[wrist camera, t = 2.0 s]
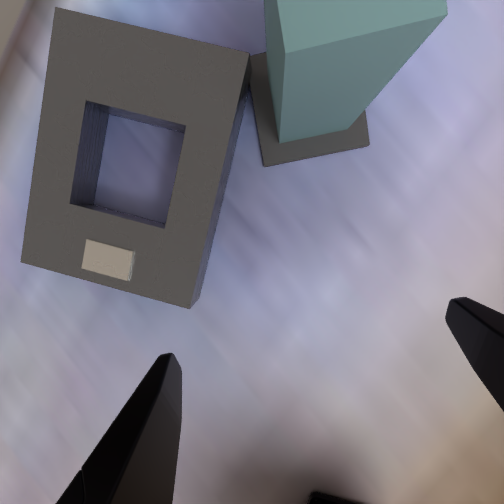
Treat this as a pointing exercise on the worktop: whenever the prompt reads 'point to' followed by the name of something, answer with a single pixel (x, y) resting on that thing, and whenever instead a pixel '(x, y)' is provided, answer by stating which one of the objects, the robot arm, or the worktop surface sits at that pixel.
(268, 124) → the mat
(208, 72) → the plate
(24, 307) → the worktop surface
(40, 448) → the worktop surface
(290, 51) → the block
